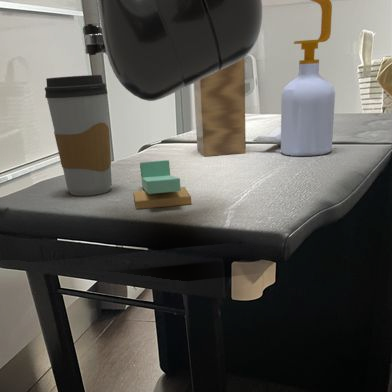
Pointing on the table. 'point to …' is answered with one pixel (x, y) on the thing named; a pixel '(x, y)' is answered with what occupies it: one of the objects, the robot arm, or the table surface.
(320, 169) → the table surface
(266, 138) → the toy fish
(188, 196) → the tan flat block
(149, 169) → the mint green chair
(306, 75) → the soap bottle
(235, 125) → the stand
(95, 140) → the coffee cup
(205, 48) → the robot arm
